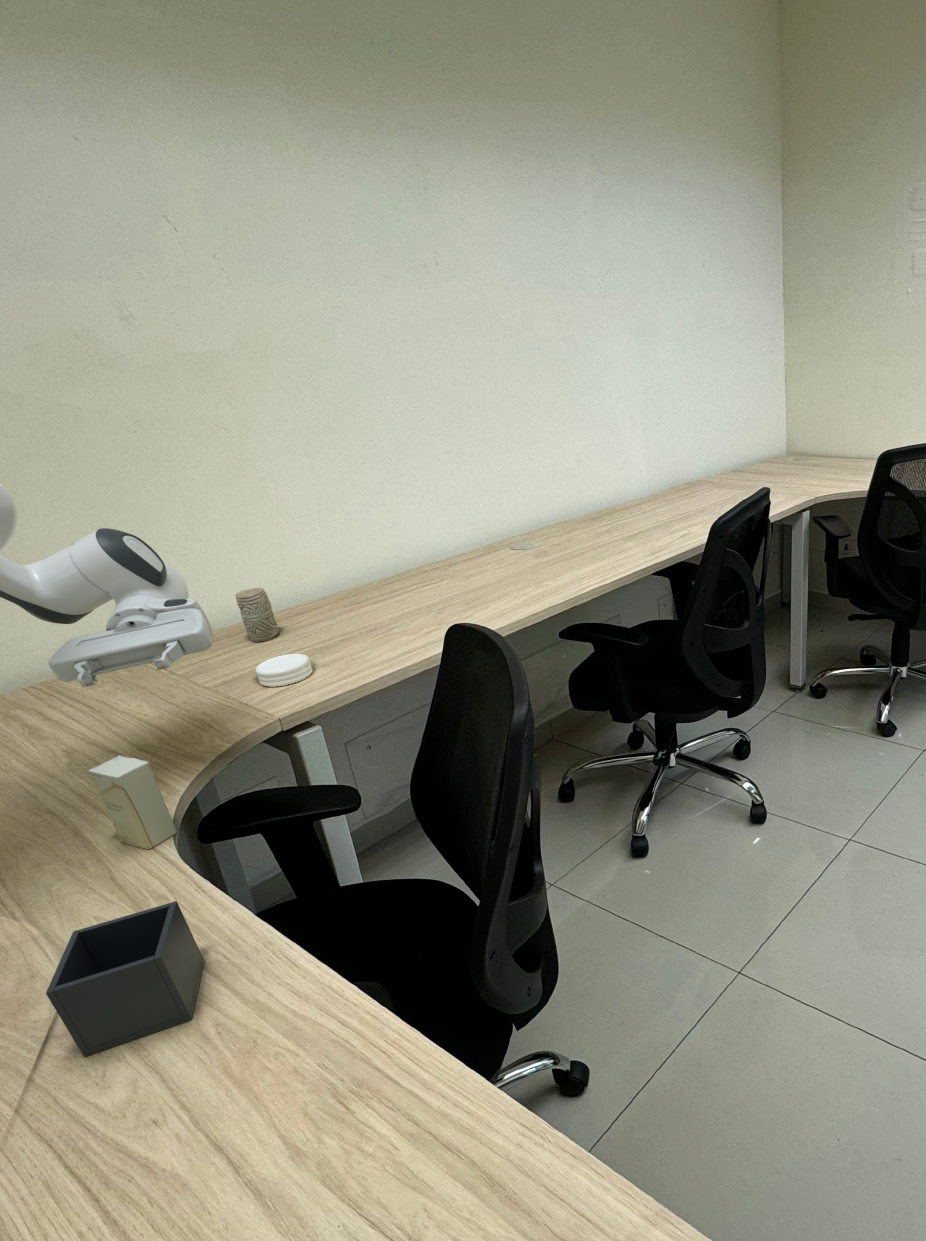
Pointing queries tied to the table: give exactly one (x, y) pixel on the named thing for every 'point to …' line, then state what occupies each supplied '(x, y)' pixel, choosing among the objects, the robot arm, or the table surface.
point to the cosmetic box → (133, 801)
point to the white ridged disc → (284, 670)
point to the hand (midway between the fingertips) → (124, 673)
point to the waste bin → (127, 978)
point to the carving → (257, 614)
